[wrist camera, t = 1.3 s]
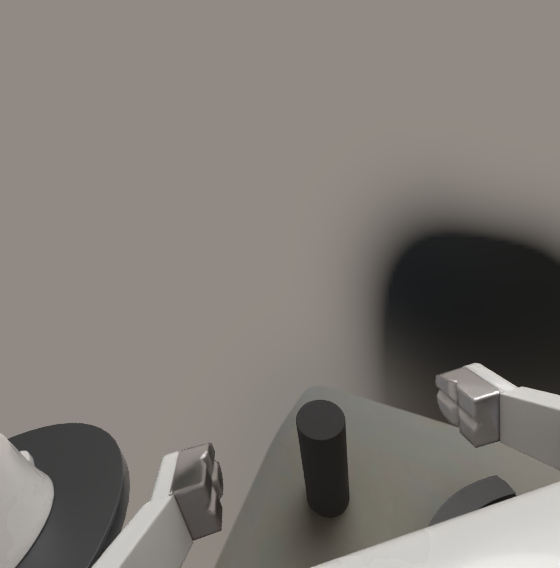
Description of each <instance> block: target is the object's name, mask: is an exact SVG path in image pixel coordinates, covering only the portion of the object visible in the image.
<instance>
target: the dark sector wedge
mask: <svg viewBox="0 0 560 568" xmlns="http://www.w3.org/2000/svg"><path fill="white" fill-rule="evenodd" d="M513 497H516V495H515V492H514V491H513V489H512V488H511V487H510V486H509V485H508V484H507V483H506V482H505V481H504V480H502V479H501V478H499V477H498V476H497V475H495V476H491V477H488V478H485V479H482V480H479V481H477V482H475V483H472V484H470V485H468V486H466V487H465V488H463V489H461V490H460V491H458V492H457V493H456V494H454V495H453V496H452V497H451V498H449V499H448V500H447V501H446V502H445V503H444V504H443V505H442V507H441V508H440V509H439V510H438V511H437V513H436V514H435V516H434V517H433V519H432V521H431V522H430V524H429V526H432V525H435V524H438V523H441V522H444V521H446V520H449V519H452V518H455V517H458V516H461V515H464V514H467V513H470V512H472V511H475V510H478V509H481V508H484V507H487V506H490V505H493V504H495V503H498V502H501V501H504V500H507V499H510V498H513ZM429 526H428V527H429Z"/></svg>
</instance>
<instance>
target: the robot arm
mask: <svg viewBox="0 0 560 568" xmlns="http://www.w3.org/2000/svg"><path fill="white" fill-rule="evenodd" d="M435 384H436V386H437V387H438V388H439V389H440V390H439V392H438V394H437V404H438V406H439V409H440V411H441V413H442V414H443V415H444V417H445V418H446V419H447V420H448V421H449V422H450V423H452V424H454V425H457V426H459V429H460V433H461V434H462V435H463V436H464V437H465V438H466V439H467V440H468V441H469V442H470V443H471V444H472V445H473V446H474V447H475V448H477V447H480V446H484V445H487V444H491V443H494V442H498V441H500V442H501V443H503V444H505V445H507V446H509V447H512V448H514V449H516V450H518V451H520V452H522V453H524V454H526V455H528V456H531V457H533V458H535V459H537V460H539V461H541V462H543V463H545V464H547V465H550V466H552V467H554V468H556V469H558V470H560V395H555V394H551V393H547V392H543V391H539V390H535V389H530V388H526V387H520V388H518V387H516V386H515V385H513V384H511V383H510V382H508V381H507V380H505V379H503V378H502V377H500V376H499V375H497V374H495V373H494V372H492V371H490V370H489V369H487V368H486V367H484V366H482V365H481V364H478V363H473V364H470V365H467V366H464V367H462V368H459V369H455V370H452V371H449V372H446V373H442V374H439V375H437V376H436V378H435ZM214 457H215V451H214V448H213V445H212V444H211V443H206V444H203V445H199V446H195V447H192V448H188V449H184V450H181V451H178V452H174V453H171V454H167V455H165V456H164V458H163V459H162V462H161V466H160V469H159V472H158V476H157V479H156V483H155V486H154V490H153V493H152V496H151V500H150V502H148V503H145V504H144V505H143V507H142V508H141V509H140V510H139V511H138V513H137V514H136V515H135V516H134V517H133V519H132V520H131V521H130V522H129V523H128V524H127V526H126V527H125V528H124V529H123V530H122V532H121V533H120V534H119V535H118V536H117V538H116V539H115V540H114V541H113V542H112V544H111V545H110V546H109V547H108V548H107V549H106V551H105V552H104V553H103V554H102V555H101V557H100V558H99V559H98V560H97V561H96V563H95V564H94V565H93V566H92V567H91V568H181V566H182V564H183V562H184V560H185V558H186V556H187V554H188V552H189V550H190V548H191V546H192V544H193V541H194V540H196V539H199V538H202V537H205V536H207V535H210V534H213V533H216V532H219V531H221V527H222V506H221V503H220V498H221V497H222V495H223V478H222V472H221V468H220V465H219V462H218V461H216V460H214ZM53 499H54V486H53V483H52V481H51V479H50V477H49V476H48V475H46V474H45V473H43V472H42V471H40V470H39V469H37V468H36V467H35V465H34V459H33V457H32V456H31V455H30V454H29V453H28V452H27V451H20V452H19V451H18V450H17V449H16V448H15V447H14V446H13V445H12V444H11V443H10V442H9V441H8V440H7V439H6V438H5V437H4V436H3V435H2V434H1V433H0V568H15V567H16V566H17V565H18V564H19V562H20V561H21V560H22V559H23V557H24V556H25V555H26V553H27V552H28V551H29V549H30V548H31V546H32V545H33V543H34V542H35V540H36V539H37V537H38V535H39V534H40V532H41V530H42V528H43V526H44V524H45V522H46V520H47V518H48V516H49V513H50V510H51V507H52V504H53ZM310 568H560V481H559V482H556V483H553V484H550V485H547V486H545V487H542V488H539V489H536V490H533V491H530V492H527V493H524V494H521V495H519V496H516V497H513V498H510V499H507V500H504V501H501V502H498V503H495V504H493V505H490V506H487V507H484V508H481V509H478V510H475V511H472V512H470V513H467V514H464V515H461V516H458V517H455V518H452V519H449V520H446V521H444V522H441V523H438V524H435V525H432V526H429V527H426V528H423V529H420V530H418V531H415V532H412V533H409V534H406V535H403V536H400V537H397V538H394V539H391V540H389V541H386V542H383V543H380V544H377V545H374V546H371V547H368V548H365V549H363V550H360V551H357V552H354V553H351V554H348V555H345V556H342V557H339V558H336V559H334V560H331V561H328V562H325V563H322V564H319V565H316V566H313V567H310Z"/></svg>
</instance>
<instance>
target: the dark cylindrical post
mask: <svg viewBox="0 0 560 568" xmlns="http://www.w3.org/2000/svg"><path fill="white" fill-rule="evenodd" d="M296 424H297V431H298V438H299V444H300V451H301V458H302V465H303V471H304V478H305V485H306V492H307V498H308V502H309V504H310V506H311V507H312V509H313V510H314V511H315V512H317V513H318V514H320V515H322V516H325V517H335V516H338V515H339V514H341V513H342V512H343V511H344V510H345V509H346V507H347V505H348V502H349V482H348V464H347V446H346V428H345V416H344V414H343V412H342V410H341V409H340V408H339V407H338V406H337V405H336V404H334V403H332V402H330V401H326V400H315V401H311V402H308V403H307V404H305V405H304V406H302V407H301V409H300V410H299V411H298V414H297V417H296Z"/></svg>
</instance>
